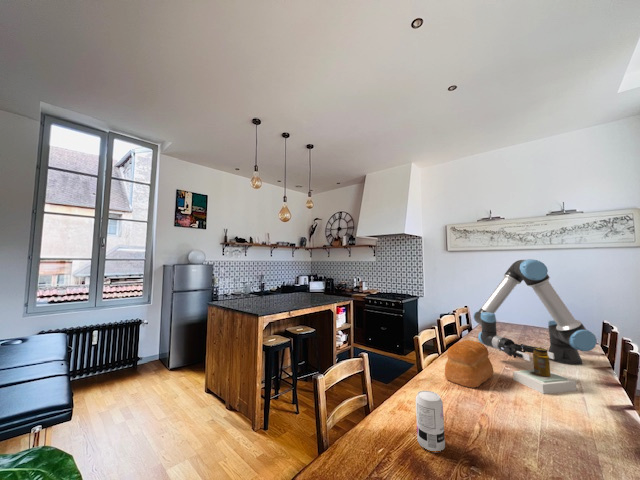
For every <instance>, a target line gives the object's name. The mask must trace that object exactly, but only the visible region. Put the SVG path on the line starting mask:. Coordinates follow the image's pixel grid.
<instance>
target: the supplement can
mask: <svg viewBox="0 0 640 480" xmlns="http://www.w3.org/2000/svg"><path fill="white" fill-rule="evenodd" d="M415 415H416V435H417V440H416V441H417V442H418V444H419V445H420V447H421V448H423V447H424V448H425V449H427V450H430V451H440V452H442V451H443V450H445V448H446V439H445V438H446V437H445V421H444V420H445V418H444V402H443V400H442V398H441V396H440V394H438V393H437V392H434V391H431V390H420V391H418V392H417V394H416V396H415ZM424 448H423V449H424ZM425 449H424V450H425ZM427 450H426V451H427ZM441 450H442V451H441ZM430 451H429V452H430Z"/></svg>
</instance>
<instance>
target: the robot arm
mask: <svg viewBox="0 0 640 480" xmlns="http://www.w3.org/2000/svg"><path fill="white" fill-rule="evenodd" d="M509 266H510V267H508V268H507V270H506V271H505V273H504V274H503V279H502V280H501V281H500V283H499V284H498V285H497V286H496V288H494V291H492V293H491V294H490V295H489V296H488V299H487V300H486V301H485V302H484V304H483V305H482V306H481V307H480V309H479V310H478V311H475V312H474V313H473V317H472V318H473V320H474V321H475V322H476V323H477V324H479V325H480V326H481V331H480V332H479V333H478V336H477V339H478V341H479V343H481V344H483V345H484V346H487V347H489V348H493V349H495V350H498V351H499V352H504V353H505V354H507V356H510V357H512V356H513V358H514V359H517V358H519V359H522V360H525V361H527V362H531V353H532V354H533V353H534V352H533V351H534V350H533V348H542V347H541V346H540V347H537V346H532V345H527V344H523V343H521V344H518V343H515V341H513V340H512V339H511V338H507V337H504V336H501V335H497V334H498V333H497V332H498V331H497V318H496V314H495V313H496V312H497V311H498V310H499V308H500V307H501V305H502V304H503V303H504V302H505V300H506V299H507V298H508V297H509V295H510V294H511V293H512V292H513V290H514V289H515V288H516V286H517V285H520V284H522V282H524V283H525V284H526V286H527V287H530V288H532V290H533V291H534V293H535V294H536V296H537V297H538V298H539V300H540V302H541V303H542V305H543V306H544V307H545V309H546V310H547V311H548V313H549V314H550V316H551V319H553V320H549V321H548V324H547V325H548V326H547V327H548V334H549V345H550V346H549V349H548V350H547V353H548V356H549V361H553V362H557V363H560V364H565V365H574V366H576V365H577V366H578V365H582V364H583V359H582V357H581V355H580V353H579V351H581V352H589V351H592V350H593V349H595V348H596V345H597V344H598V340H597V339H598V338H597V336H596V335H595V334H594V333H593V332H591V330H588V329H587V328H586V327H585V325H584V324H583V323H582V321H580V320H577V319H576V318H575V317H574V316H573V315H572V313H571V312H570V309H568V307H567V306H566V304H565V302H564V301H563V300H562V299H561V296H559V294H558V293H557V291H556V290H555V288H554V287H553V286H552V284H551V282H550V278H551V277H550V275H549V274H548V271H549V270H548V267H547V265H546V264H545V263H544V262H542V261H540V260H537V259H532V258H531V259H529V258H528V259H519V260H516V261H515V262H513V263H512V264H511V265H509ZM527 353H530V354H527Z"/></svg>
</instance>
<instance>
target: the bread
mask: <svg viewBox="0 0 640 480" xmlns="http://www.w3.org/2000/svg"><path fill="white" fill-rule="evenodd" d="M446 355H447V361H446V363H445V365H444V366H445V367H444V377H445V379H446V380H447V381H449V382H452V383H453V384H457V385H460V386H463V387H467V388H473V389H474V388H479V386H481V385H482V384H484V383H485V382H486V381H488V380H489V379H491V378H493V376H494V367H493V364H492V361H491V360H490V358H489V350H488V348H487V347H486V345H485V344H482V343H481V342H480V341H479V342H478V341H473V340H469V339H465V340H463V341H458V342H456V343H454V344H453V345H451V346H450V347H448V350H447V353H446Z"/></svg>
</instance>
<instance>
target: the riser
mask: <svg viewBox="0 0 640 480" xmlns="http://www.w3.org/2000/svg"><path fill="white" fill-rule="evenodd" d="M533 371H534V369H527V370H526V369H525V370H524V369H523V370H514V371H512V376H513V377H512V379H513V381H515V382H518V383H520V384H522V385H523V386H526V387H528V388H530V389H532V390H534V391H536V392H537V393H540V394H543V395H546V394H547V395H548V394H556V393H565V392H574V391H578V390H577V389H578V386H577V380H574V379H571V378H569V377H566V376H563V375H561V374H558V373H556V372H553V371H550V374H551V375H554V376H553V377H551V378H549V379H543V378H540V377H536V376H533V375H530V374H528V373H531V372H533Z"/></svg>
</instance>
